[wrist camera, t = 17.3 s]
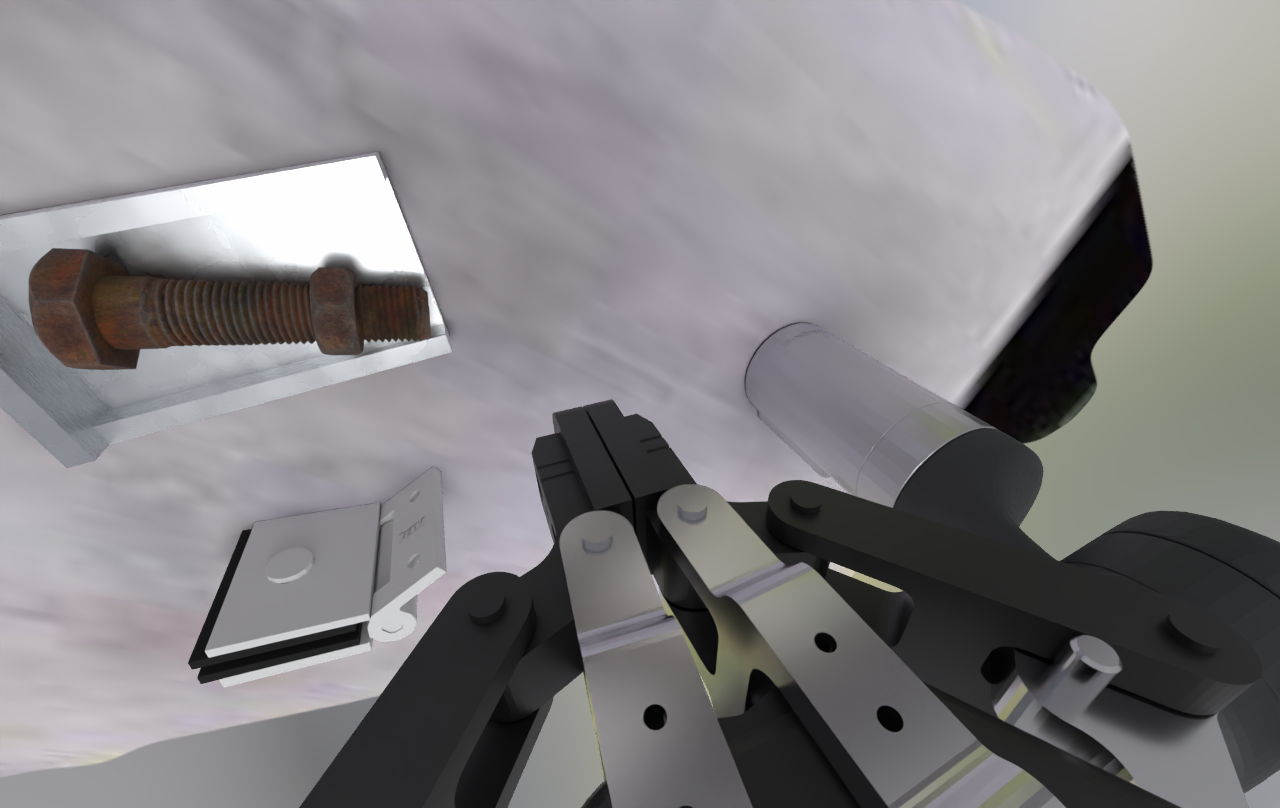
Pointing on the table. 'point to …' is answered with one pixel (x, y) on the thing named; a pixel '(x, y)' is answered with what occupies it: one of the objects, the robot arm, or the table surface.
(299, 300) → the bolt
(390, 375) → the table surface
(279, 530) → the hinge
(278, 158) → the table surface
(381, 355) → the tray
